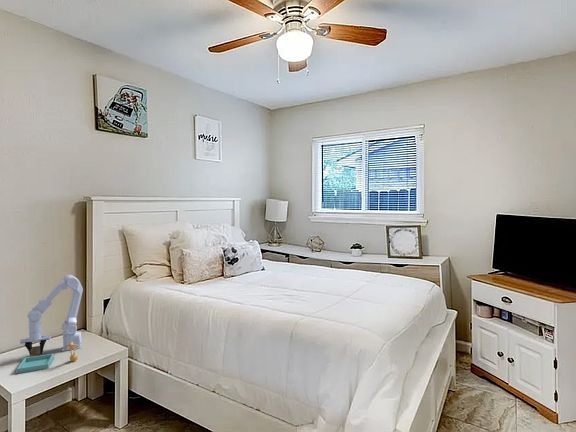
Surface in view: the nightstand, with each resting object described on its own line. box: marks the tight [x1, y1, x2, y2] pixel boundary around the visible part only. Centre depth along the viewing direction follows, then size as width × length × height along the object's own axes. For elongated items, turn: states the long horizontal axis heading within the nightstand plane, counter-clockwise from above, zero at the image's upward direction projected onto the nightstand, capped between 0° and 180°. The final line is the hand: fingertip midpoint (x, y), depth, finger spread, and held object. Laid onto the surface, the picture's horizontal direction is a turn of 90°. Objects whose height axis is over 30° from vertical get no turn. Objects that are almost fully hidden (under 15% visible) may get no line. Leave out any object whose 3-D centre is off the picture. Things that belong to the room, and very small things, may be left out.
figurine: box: [64, 341, 81, 362], centre depth 199 cm, size 8×6×12 cm
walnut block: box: [30, 345, 43, 357], centre depth 206 cm, size 4×4×5 cm
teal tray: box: [15, 353, 55, 375], centre depth 195 cm, size 14×14×2 cm
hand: (36, 353), depth 206 cm, fingers closed on walnut block, 4 cm apart
